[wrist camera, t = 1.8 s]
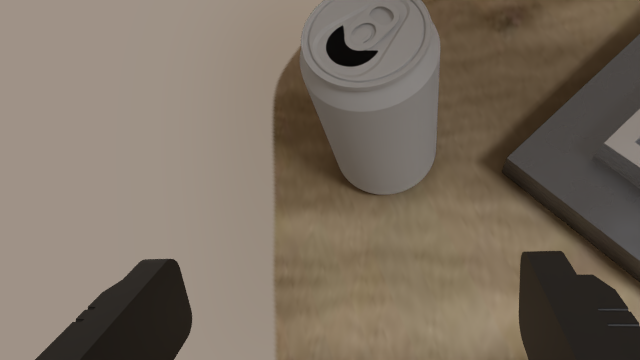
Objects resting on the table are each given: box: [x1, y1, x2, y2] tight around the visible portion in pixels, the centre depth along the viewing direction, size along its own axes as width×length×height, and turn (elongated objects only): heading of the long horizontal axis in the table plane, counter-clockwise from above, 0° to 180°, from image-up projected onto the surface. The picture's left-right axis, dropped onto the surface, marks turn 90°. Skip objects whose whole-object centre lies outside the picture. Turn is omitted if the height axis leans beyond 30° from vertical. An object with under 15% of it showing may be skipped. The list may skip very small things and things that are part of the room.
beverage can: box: [300, 0, 440, 195], centre depth 25 cm, size 6×6×12 cm
